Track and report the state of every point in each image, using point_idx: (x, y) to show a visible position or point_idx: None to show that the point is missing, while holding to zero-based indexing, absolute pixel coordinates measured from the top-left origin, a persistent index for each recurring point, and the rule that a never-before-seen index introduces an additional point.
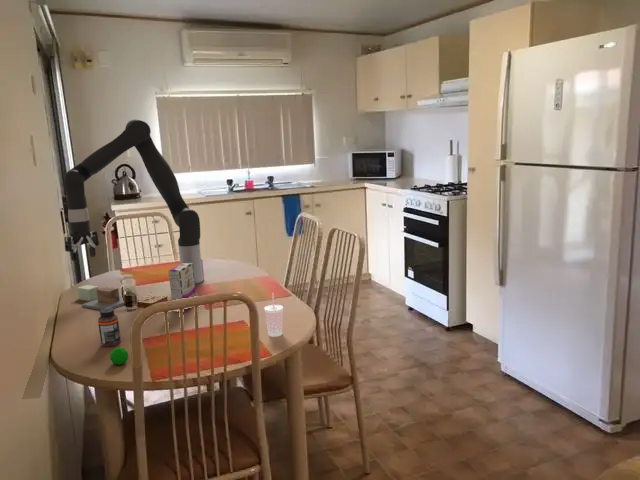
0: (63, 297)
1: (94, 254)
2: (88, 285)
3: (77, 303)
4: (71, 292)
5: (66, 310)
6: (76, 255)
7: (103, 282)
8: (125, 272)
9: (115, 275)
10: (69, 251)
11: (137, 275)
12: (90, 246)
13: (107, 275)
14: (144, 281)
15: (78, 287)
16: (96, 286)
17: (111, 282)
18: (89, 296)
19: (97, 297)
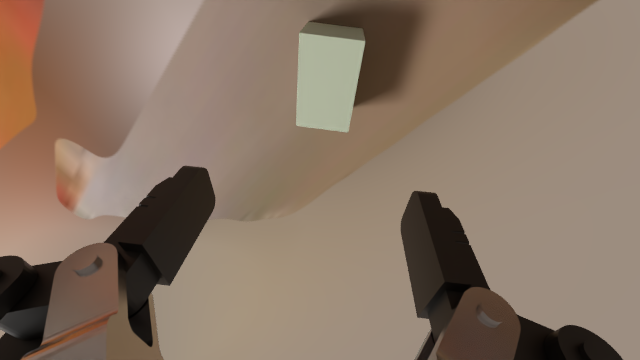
0: (346, 174)
1: (177, 178)
2: (301, 109)
3: (406, 62)
4: (295, 188)
5: (519, 23)
6: (438, 241)
7: (169, 172)
8: (65, 183)
9: (105, 189)
10: (597, 342)
11: (30, 120)
12: (141, 295)
13: (126, 209)
14: (15, 7)
15: (344, 130)
16: (301, 44)
17: (149, 147)
18: (363, 33)
19: (318, 23)
